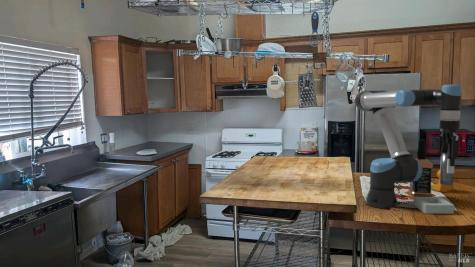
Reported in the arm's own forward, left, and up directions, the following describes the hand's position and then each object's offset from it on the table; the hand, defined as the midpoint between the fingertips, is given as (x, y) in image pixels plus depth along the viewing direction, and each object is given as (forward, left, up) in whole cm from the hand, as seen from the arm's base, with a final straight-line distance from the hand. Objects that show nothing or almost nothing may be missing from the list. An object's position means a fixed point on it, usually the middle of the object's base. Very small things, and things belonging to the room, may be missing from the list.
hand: (447, 171), depth 161 cm
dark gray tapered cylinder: (0, 0, -6) cm, 6 cm away
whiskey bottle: (+3, +32, -22) cm, 39 cm away
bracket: (+22, +48, -22) cm, 57 cm away
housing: (0, +11, -22) cm, 25 cm away
